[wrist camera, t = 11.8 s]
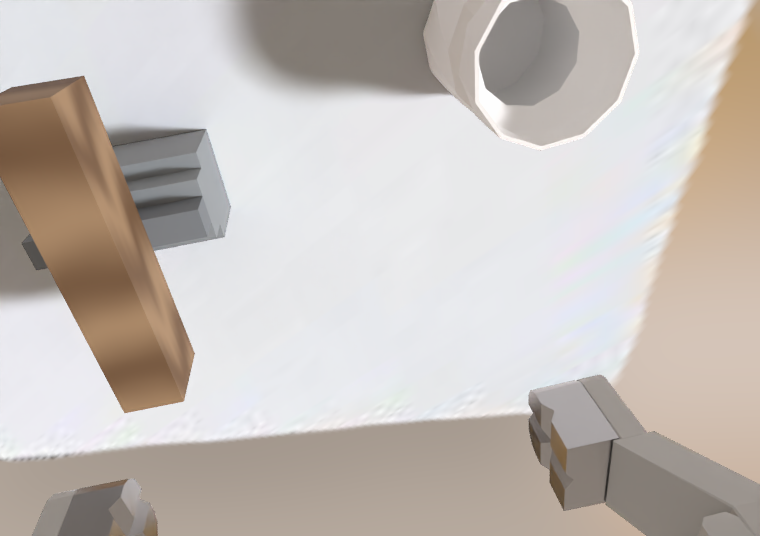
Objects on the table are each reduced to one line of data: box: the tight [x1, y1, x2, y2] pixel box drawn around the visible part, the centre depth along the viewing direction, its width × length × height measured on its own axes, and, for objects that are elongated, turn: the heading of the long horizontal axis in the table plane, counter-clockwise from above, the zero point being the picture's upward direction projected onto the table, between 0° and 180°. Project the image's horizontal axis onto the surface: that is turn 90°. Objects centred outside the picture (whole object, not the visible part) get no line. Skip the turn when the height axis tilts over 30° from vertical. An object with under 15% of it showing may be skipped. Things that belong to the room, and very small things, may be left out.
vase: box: [423, 0, 639, 151], centre depth 32 cm, size 9×9×12 cm
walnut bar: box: [0, 76, 195, 413], centre depth 30 cm, size 18×4×4 cm, turn 7°
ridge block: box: [22, 130, 231, 270], centre depth 35 cm, size 6×10×9 cm, turn 98°
